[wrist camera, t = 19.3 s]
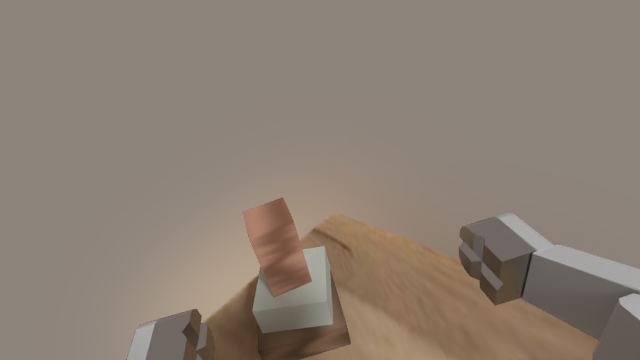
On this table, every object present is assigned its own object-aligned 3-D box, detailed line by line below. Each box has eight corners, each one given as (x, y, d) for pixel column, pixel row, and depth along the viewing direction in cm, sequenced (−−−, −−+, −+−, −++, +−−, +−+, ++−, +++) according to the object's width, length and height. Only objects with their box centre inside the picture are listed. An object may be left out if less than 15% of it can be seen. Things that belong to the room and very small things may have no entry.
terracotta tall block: (274, 297, 39) (248, 237, 33) (266, 269, 43) (242, 211, 38) (312, 281, 40) (293, 220, 34) (301, 255, 44) (282, 197, 38)
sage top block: (262, 333, 40) (252, 311, 38) (270, 276, 47) (262, 255, 45) (333, 324, 39) (326, 301, 37) (330, 268, 47) (324, 246, 44)
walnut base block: (268, 370, 40) (258, 351, 38) (265, 300, 50) (257, 281, 47) (351, 346, 41) (346, 325, 39) (332, 281, 50) (328, 261, 48)
